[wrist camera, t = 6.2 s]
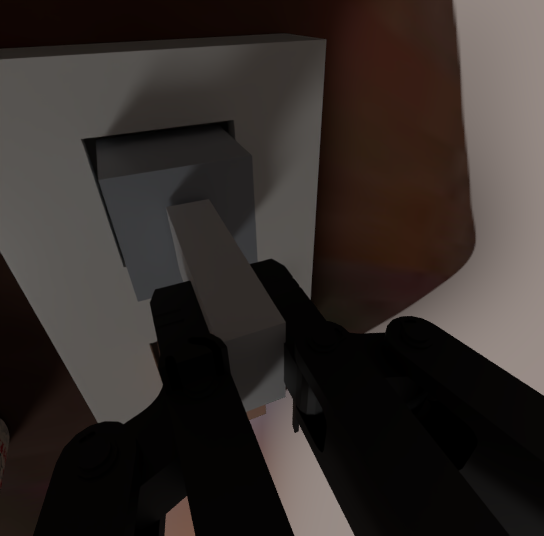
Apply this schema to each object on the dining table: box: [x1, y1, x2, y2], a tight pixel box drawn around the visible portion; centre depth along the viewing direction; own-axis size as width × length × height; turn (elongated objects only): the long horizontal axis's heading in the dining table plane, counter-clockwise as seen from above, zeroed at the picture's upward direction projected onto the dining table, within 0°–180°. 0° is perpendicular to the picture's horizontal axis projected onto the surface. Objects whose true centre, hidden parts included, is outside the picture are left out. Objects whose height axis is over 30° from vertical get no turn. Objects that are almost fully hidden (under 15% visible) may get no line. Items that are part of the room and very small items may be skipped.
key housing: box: [0, 33, 326, 424], centre depth 20 cm, size 22×14×4 cm, turn 1°
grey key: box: [96, 124, 258, 302], centre depth 15 cm, size 5×5×4 cm
